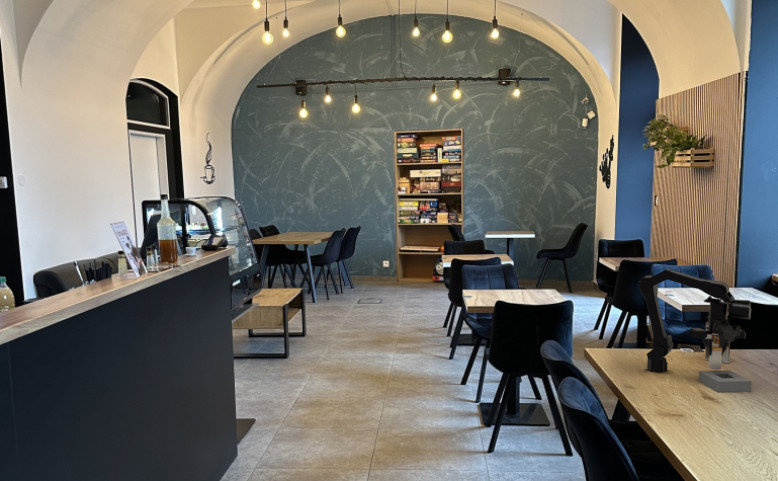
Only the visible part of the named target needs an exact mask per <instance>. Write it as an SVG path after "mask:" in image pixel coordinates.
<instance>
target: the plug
mask: <svg viewBox="0 0 778 481" xmlns="http://www.w3.org/2000/svg"><path fill="white" fill-rule="evenodd" d="M721 360H722V347H720V346H715V345H712V354H711V356H709V361H708V368H709V369H711V370H715V371H721V369H722V363H721Z"/></svg>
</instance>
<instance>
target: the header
mask: <svg viewBox="0 0 778 481" xmlns="http://www.w3.org/2000/svg"><path fill="white" fill-rule="evenodd" d="M698 382H699V383H700V384H703V385H704V386H706V387H708V388H710V389H711V390H713V391H715V392H717V393H719V394H720V393H721V394H722V393H723V394H724V393H751V392H752V380H751V379H748V378H746V377H744V376H742V375H741V374H738V373H736V372H734V371H732V370H699V371H698Z"/></svg>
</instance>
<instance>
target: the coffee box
mask: <svg viewBox="0 0 778 481" xmlns="http://www.w3.org/2000/svg"><path fill="white" fill-rule="evenodd" d="M706 327H709V321H706V322H705V331H708V330H707V329H706ZM712 339H714V341H713V342H712V345H715V346H719V336H712ZM704 347H705V346H704ZM709 356H710V355H708V352H707V350H706V347H705V348H704V359H705V360H704V361H705V362H709ZM730 357H731V342H730V343H729V344H728V346H727V348H726V350H725V352H724V354H723V356H722V360H721V364H722V363H723V364H730V360H731V358H730Z"/></svg>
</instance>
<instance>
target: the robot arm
mask: <svg viewBox="0 0 778 481" xmlns="http://www.w3.org/2000/svg"><path fill="white" fill-rule="evenodd" d="M667 280H668V281H671V282H674V283H677V284H681V285H683V286H686V287H690V288H694V289H697V290H700V291H701V292H703V293H705V294H707V295H708V296H707V298H706V299H704V300H703V303H707V304H709V312H708V315H707V316H706V319H707V320H708V322H709V327H706V326H705V329H704V328H703V329H702V328H701V327H690V329H689V330H688V336H690V337H692V338H694V339H697V340H700V339H701V341H702V342H703V345H704V347H706V350H707V352H708V355H710V356H711V354H712V342H713V341H714V339H712V336H719V346H720V347H722V356H723V354H724V352H725V350H726V348H727V346H728V344H729V343H730V344H731V342H734V341H736V339H738V340H739V339H740V340H743V339H744V340H745V339H746V334H747V333H746V332H745V331H744V330H742V328H741V326H740V325H731V324H730V320H729V319H728V314H729V316H731V317H732V318H737V319H745V320H750V319H751V314H752V308H751V300H749V299H745V300H744V299H736V298H735V297H734V295H733V294H732V293H731V291H730V287H729V285H728V284H727V282H724V281H721V280H720V281H719V280H715V279H714V280H713V279H705V278H700V277H697V276H693V275H690V274H687V273H683V272H680V271H677V270H673V269H672V268H666V269H663V270H662V271H661V272H659V273H656V274H654V275H646V276H644V277H642V278H640V279H639V280H638V283H637V286H638V288H639V290H640V292H641V295H642V296H643V298H644V300H645V303H646V306H647V311H648V315H649V319H650V324H651V328H652V349H651V350H650V351H648V352H647V353H646V356H647V362H646V364H647V365H646V368H645V369H644V370H645V371H647V372H648V371H649V372H651V373H652V372H653V373H658V374H659V373H660V374H661V373H665V372H668V361H667V358H666V356H667V355H669V354H670V352H672V350H673V346H674V343H673V339H672V338H673V337H672V334H671V335H669V334H667V333H666V330H665V325H664V322H663V318H662V312H661V308H660V304H659V303H660V302H659V300H658V292H659V284H661V283H663V282H664V281H667ZM706 329H707V330H708V331H706ZM735 338H736V339H735Z"/></svg>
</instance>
